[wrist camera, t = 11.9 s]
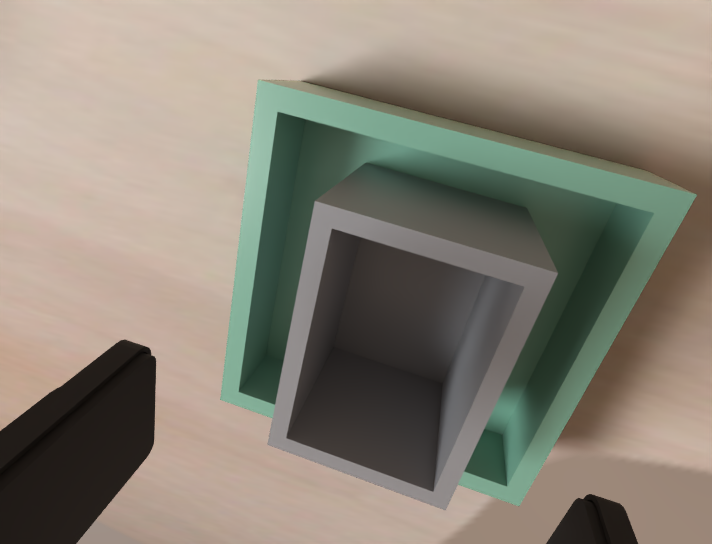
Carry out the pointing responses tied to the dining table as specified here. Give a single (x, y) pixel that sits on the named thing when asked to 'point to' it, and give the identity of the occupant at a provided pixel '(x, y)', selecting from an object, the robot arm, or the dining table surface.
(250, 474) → the dining table surface
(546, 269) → the small crate
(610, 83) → the dining table surface
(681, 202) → the big crate
